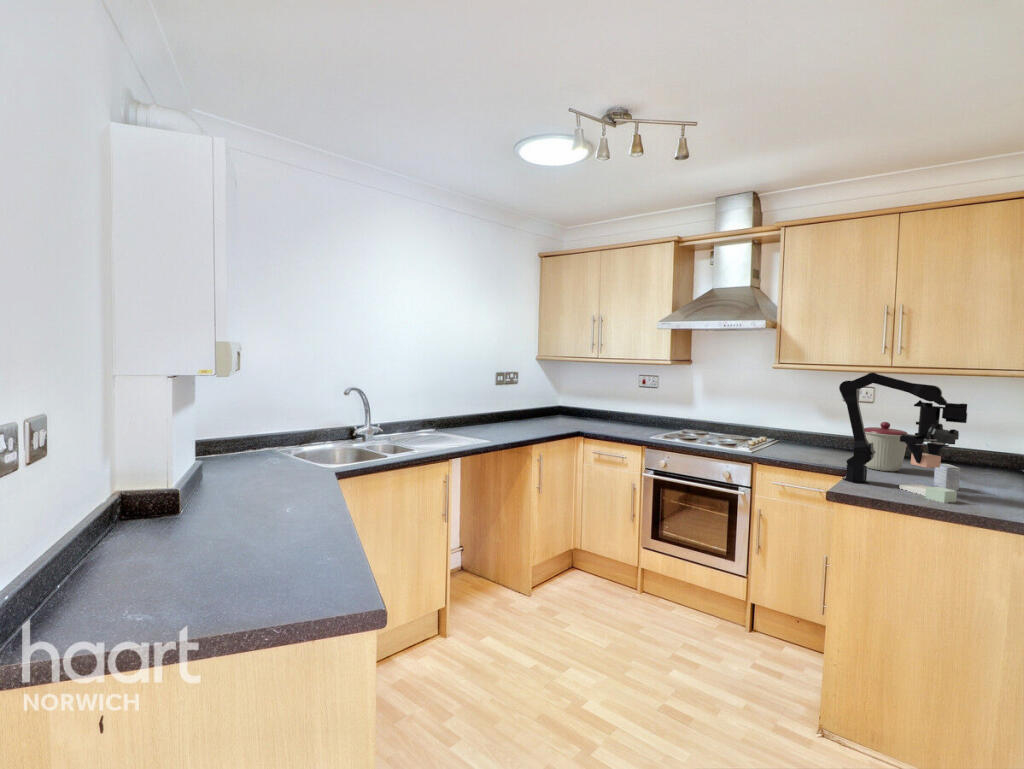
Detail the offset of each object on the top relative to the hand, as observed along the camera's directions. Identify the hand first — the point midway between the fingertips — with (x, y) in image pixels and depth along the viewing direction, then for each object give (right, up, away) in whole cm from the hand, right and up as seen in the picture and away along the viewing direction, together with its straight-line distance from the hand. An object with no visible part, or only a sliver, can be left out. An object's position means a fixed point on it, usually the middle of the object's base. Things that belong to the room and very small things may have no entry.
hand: (925, 462), depth 190 cm
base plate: (0, -11, 0) cm, 11 cm away
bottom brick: (0, -1, 0) cm, 1 cm away
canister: (+14, -9, +42) cm, 45 cm away
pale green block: (-3, -11, -10) cm, 16 cm away
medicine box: (+15, -11, +9) cm, 21 cm away
